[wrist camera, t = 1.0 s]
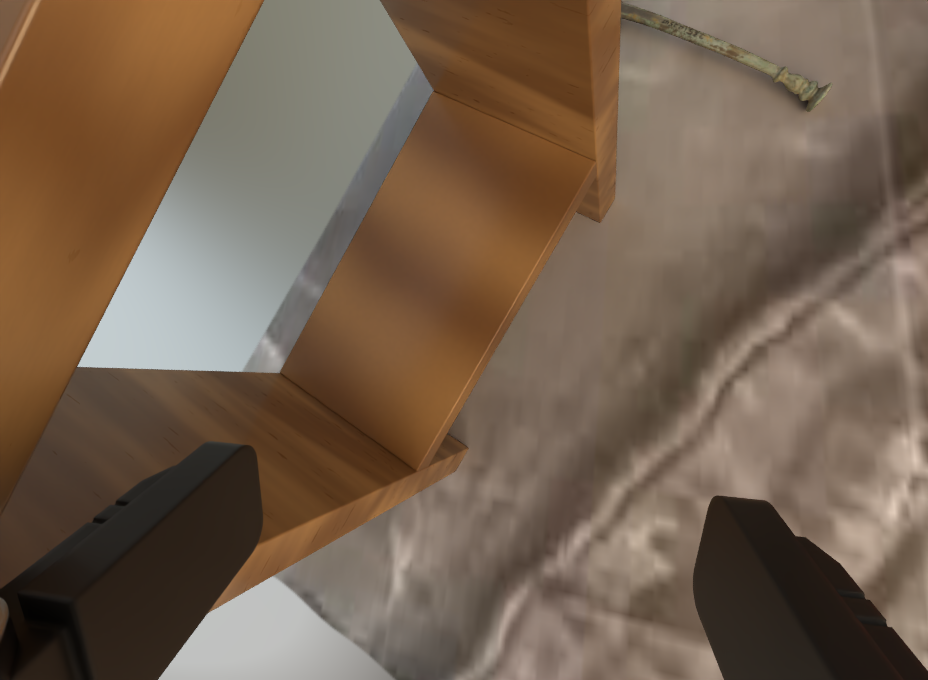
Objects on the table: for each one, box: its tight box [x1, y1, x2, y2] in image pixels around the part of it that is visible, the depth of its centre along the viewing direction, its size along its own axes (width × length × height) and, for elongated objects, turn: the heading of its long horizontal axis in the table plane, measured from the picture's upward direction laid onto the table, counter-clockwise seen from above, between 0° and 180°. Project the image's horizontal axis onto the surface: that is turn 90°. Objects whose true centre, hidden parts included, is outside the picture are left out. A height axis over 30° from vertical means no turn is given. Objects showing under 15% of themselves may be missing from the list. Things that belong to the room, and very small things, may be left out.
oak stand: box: [0, 0, 621, 613], centre depth 21 cm, size 22×10×31 cm, turn 149°
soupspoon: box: [621, 1, 833, 112], centre depth 32 cm, size 22×3×7 cm
